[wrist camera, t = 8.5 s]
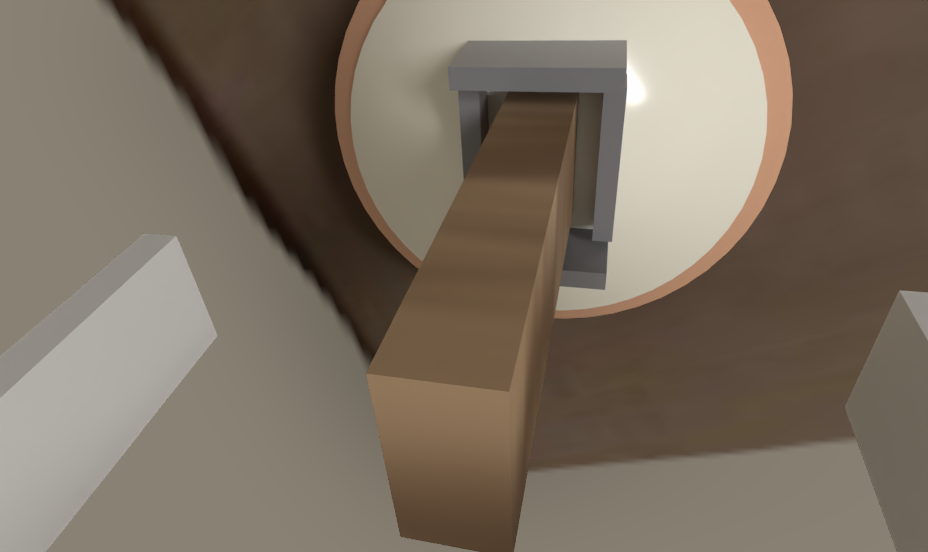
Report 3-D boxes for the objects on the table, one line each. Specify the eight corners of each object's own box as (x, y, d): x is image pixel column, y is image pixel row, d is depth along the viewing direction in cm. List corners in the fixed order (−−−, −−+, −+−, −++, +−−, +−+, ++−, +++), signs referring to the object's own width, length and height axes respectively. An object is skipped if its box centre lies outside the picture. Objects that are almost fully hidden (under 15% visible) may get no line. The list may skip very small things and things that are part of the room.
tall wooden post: (510, 88, 18) (366, 373, 8) (579, 89, 17) (508, 392, 8) (512, 207, 20) (400, 537, 11) (572, 211, 20) (512, 557, 10)
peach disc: (334, -112, 19) (237, -95, 14) (828, -141, 16) (912, -132, 11) (391, 260, 27) (342, 349, 22) (725, 286, 24) (749, 394, 19)
